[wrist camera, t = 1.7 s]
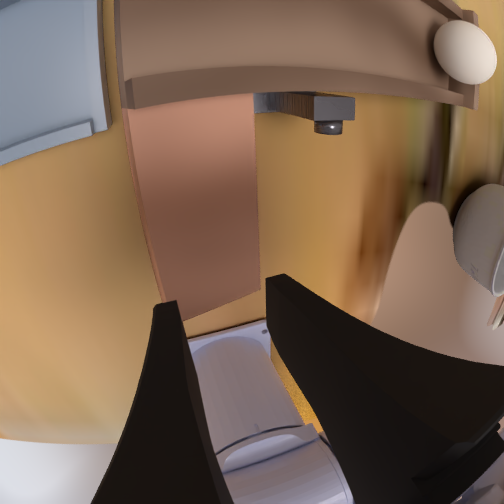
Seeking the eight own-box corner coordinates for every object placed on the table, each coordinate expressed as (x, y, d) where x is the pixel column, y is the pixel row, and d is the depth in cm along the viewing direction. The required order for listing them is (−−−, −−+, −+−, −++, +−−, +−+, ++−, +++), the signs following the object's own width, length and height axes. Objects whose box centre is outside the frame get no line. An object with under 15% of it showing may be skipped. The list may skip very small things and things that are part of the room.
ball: (450, 81, 14) (503, 95, 11) (421, 73, 13) (484, 86, 10) (449, 27, 12) (503, 35, 9) (419, 10, 11) (482, 14, 8)
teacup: (426, 259, 28) (480, 304, 22) (462, 161, 23) (529, 195, 17) (478, 257, 33) (518, 289, 27) (506, 184, 28) (552, 212, 22)
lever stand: (310, 115, 17) (372, 133, 12) (245, 119, 15) (292, 137, 11) (303, -46, 11) (362, -75, 6) (236, -54, 10) (279, -98, 5)
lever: (425, 201, 21) (459, 217, 18) (164, 307, 12) (193, 360, 10) (437, 11, 13) (477, 15, 10) (116, -72, 4) (140, -123, 2)
